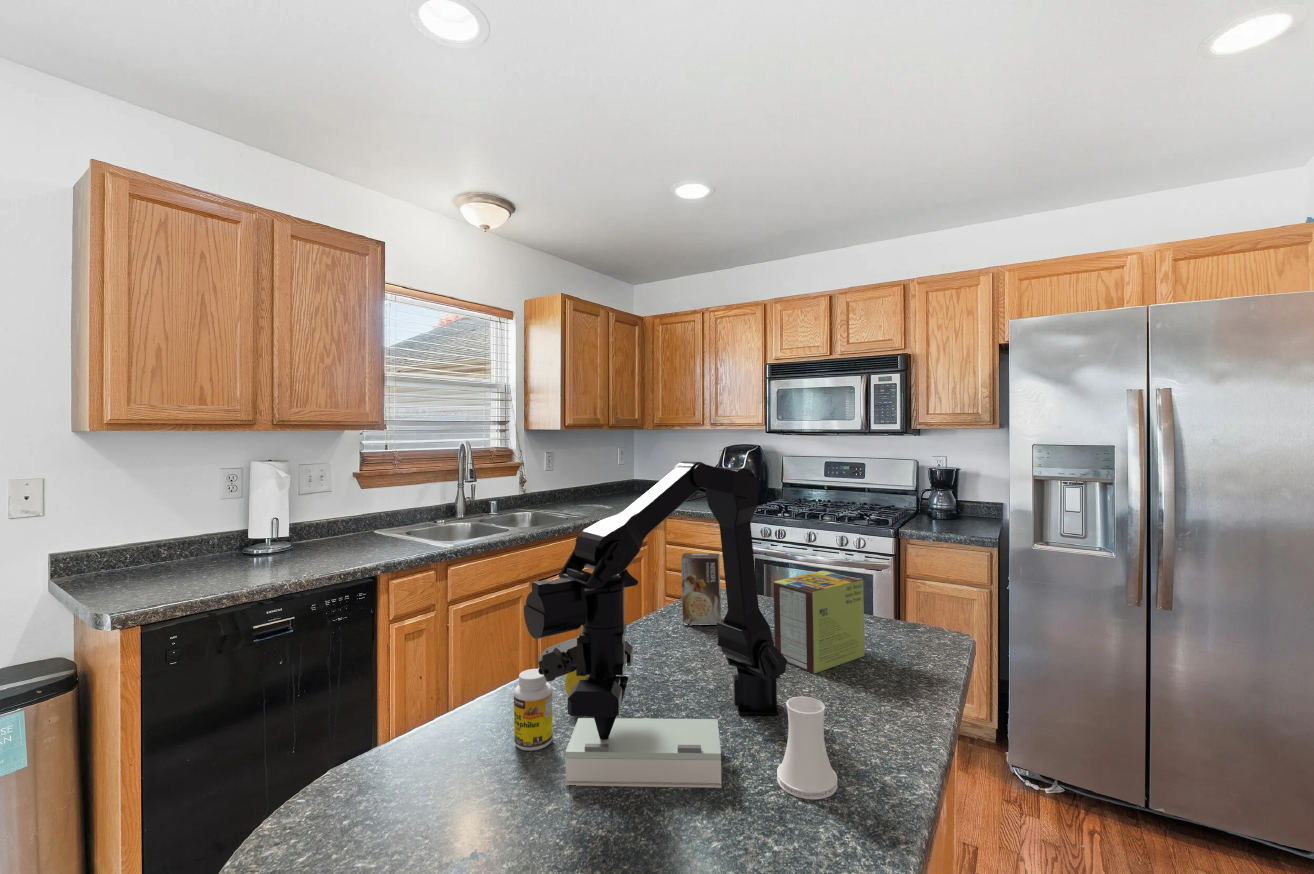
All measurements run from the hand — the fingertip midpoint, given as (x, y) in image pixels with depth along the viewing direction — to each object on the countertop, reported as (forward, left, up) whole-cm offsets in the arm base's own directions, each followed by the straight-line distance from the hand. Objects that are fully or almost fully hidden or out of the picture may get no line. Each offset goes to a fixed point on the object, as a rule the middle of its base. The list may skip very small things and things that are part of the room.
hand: (604, 738), depth 79 cm
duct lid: (-5, -1, -1) cm, 6 cm away
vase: (-27, +2, -5) cm, 27 cm away
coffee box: (-14, -63, -5) cm, 65 cm away
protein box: (-37, -41, -5) cm, 56 cm away
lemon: (+7, -19, -5) cm, 21 cm away
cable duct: (-5, -1, -4) cm, 7 cm away
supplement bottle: (+12, -7, -5) cm, 14 cm away
